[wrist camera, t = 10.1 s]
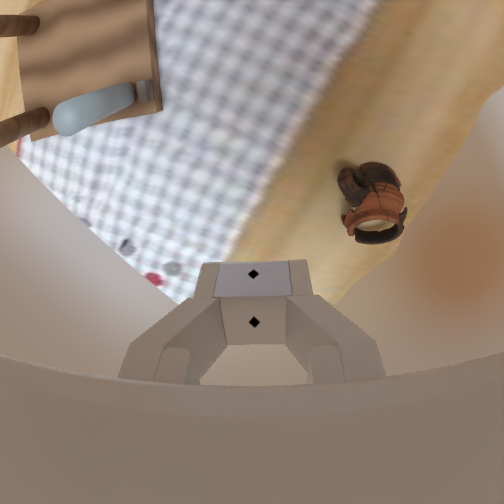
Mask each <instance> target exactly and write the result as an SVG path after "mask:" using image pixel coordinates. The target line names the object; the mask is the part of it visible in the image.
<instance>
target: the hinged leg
mask: <svg viewBox="0 0 504 504" xmlns="http://www.w3.org/2000/svg"><path fill="white" fill-rule="evenodd" d="M135 96H136V94H135V89H134V88H133V86H132V85H131V84H129V83H119V84H116V85H112V86H109V87H105V88H102V89H99V90H96V91H92V92H89V93H86V94H83V95H80V96H77V97H75V98H72V99H69V100H66V101H63V102H61V103H59V104H58V105H57V106H56V108H55V109H54V112H53V116H52V121H53V125H54V128H55V129H56V131H57V132H58V133H59V134H61V135H63V136H72V135H74V134H75V133H77V132H79V131H81V130H83V129H84V128H86V127H88V126H90V125H92V124H94V123H96V122H98V121H100V120H101V119H103V118H105V117H107V116H109V115H111V114H113V113H116V112H118V111H120V110H122V109H124V108H126V107H128V106H130V105H131V104H132V103H133V102H134V100H135Z"/></svg>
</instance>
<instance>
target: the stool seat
mask: <svg viewBox="0 0 504 504" xmlns="http://www.w3.org/2000/svg"><path fill="white" fill-rule="evenodd" d="M14 36H17V43H18V57H19V68H20V77H21V85H22V93H23V99H24V106H25V113H22V114H19V115H16V116H14V117H11V118H9V119H6V120H4V121H1V122H0V148H1V147H3V146H5V145H7V144H9V143H11V142H13V141H15V140H17V139H19V138H21V137H24V136H26V135H28V134H30V138H31V142H32V141H36V140H39V139H42V138H46V137H49V136H53V135H56V134H59V133H58V132H57V131H56V129H55V128H54V125H53V121H52V116H53V112H54V109H55V108H56V106H57V105H58V104H59V103H61V102H63V101H66V100H69V99H72V98H75V97H77V96H80V95H83V94H86V93H89V92H92V91H96V90H99V89H102V88H105V87H109V86H112V85H116V84H119V83H129V84H131V85H132V86H133V88H134V89H135V94H136V96H135V100H134V102H133V103H132V104H131V105H130V106H128V107H126V108H124V109H122V110H120V111H118V112H116V113H113V114H111V115H109V116H107V117H105V118H103V119H101V120H100V121H98V122H96V123H94V124H92V125H95V124H100V123H104V122H109V121H114V120H119V119H124V118H129V117H135V116H140V115H146V114H152V113H157V112H159V111H161V110H163V108H162V99H161V91H160V82H159V72H158V62H157V52H156V40H155V27H154V13H153V0H45V1H43V2H41V3H39V4H37V5H36V6H34V7H32V8H30V9H28V10H26V11H25V12H23V13H21V14H19V15H0V37H14ZM90 126H91V125H90Z"/></svg>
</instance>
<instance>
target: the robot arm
mask: <svg viewBox="0 0 504 504" xmlns="http://www.w3.org/2000/svg"><path fill="white" fill-rule="evenodd" d="M246 344H286V346H287V347H288V349H289V350H290V352H291V353H292V354H293V355H294V357H295V358H296V359H297V360H298V362H299V363H300V364H301V365H302V367H303V368H304V369H305V370H306V372H307V380H306V384H301V385H276V386H215V385H200V382H199V380H200V379H201V378H202V376H203V375H204V374H205V373H206V372H207V370H208V369H209V368H210V367H211V366H212V364H213V363H214V362H215V361H216V359H217V358H218V357H219V356H220V354H221V353H222V352H223V351H224V350H225V348H226V347H227V345H246ZM0 504H504V352H501V353H498V354H494V355H490V356H487V357H482V358H478V359H474V360H470V361H466V362H462V363H457V364H453V365H448V366H443V367H439V368H433V369H428V370H423V371H417V372H411V373H405V374H399V375H392V376H386V373H385V370H384V366H383V363H382V360H381V356H380V353H379V350H378V347H377V343H376V341H375V340H374V339H373V338H372V337H370V336H369V335H368V334H367V333H366V332H364V331H363V330H362V329H360V328H359V327H358V326H357V325H356V324H354V323H353V322H352V321H350V320H349V319H348V318H347V317H346V316H344V315H343V314H342V313H341V312H339V311H338V310H337V309H336V308H334V307H333V306H332V305H331V304H329V303H328V302H327V301H326V300H324V299H323V298H322V297H321V296H319V295H313V291H312V285H311V280H310V275H309V270H308V265H307V261H306V260H305V259H300V260H289V261H271V262H221V263H220V262H207V263H203V264H202V266H201V270H200V273H199V277H198V281H197V284H196V288H195V292H194V295H193V298H187V299H186V300H185V301H183V302H182V303H181V304H180V305H178V306H177V307H176V308H175V309H173V310H172V311H171V312H169V313H168V314H167V315H166V316H165V317H163V318H162V319H161V320H159V321H158V322H157V323H155V324H154V325H153V326H152V327H151V328H149V329H148V330H147V331H145V332H144V333H143V334H142V335H140V336H139V337H138V338H136V339H135V340H134V341H133V342H131V343H130V344H129V347H128V350H127V352H126V355H125V357H124V360H123V363H122V366H121V368H120V371H119V374H118V377H117V378H115V377H107V376H99V375H94V374H87V373H81V372H75V371H70V370H64V369H59V368H54V367H49V366H44V365H40V364H35V363H31V362H27V361H22V360H18V359H14V358H10V357H7V356H3V355H0Z"/></svg>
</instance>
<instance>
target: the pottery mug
mask: <svg viewBox="0 0 504 504" xmlns="http://www.w3.org/2000/svg"><path fill="white" fill-rule="evenodd" d="M338 185H339V187H340V190H341V191H342V193H343V194H344V196H345V197H346V201H347V202H348V203H349V205H350V206H352V207H356V206H357V208H356V210H355V211H354V210H352V209H350V210H349V211H348V213H347V215H346V216H341V217H342V218H341V220H342V221H343V224H344V226H345V227H346V228H347V232H348V235H349V236H354V234H355V240H356V242H359V243H362V244H381V243H386V242H389V241H392V240H394V239H396V238H397V237H398V236H400V235H401V233H402V232H403V230H404V226H403V222H404V220H405V218H406V215H407V207H405V208H404V211H403V212H402V213H400V211H401V209H402V207H403V204H404V198H403V195H402V194H401V193H400V188H399V187H400V186H401V184H400V181H399V179H398V178H397V177H396V174H395V173H394V171H393V170H392V169H390V168H389V167H388V166H386V165H383V164H379V163H366V164H362V165H361V171H357V170H354V169H353V168H344V169H343V170H342V171H341V172H340V173H339V175H338ZM370 185H372V187H373V188H374V190H375V191H369V189H368V187H369V186H370ZM380 219H381V220H388V221H391V222H393V223H395V225H394V226H393V227H391V228H389V229H385V230H382V231H380V232H378V231H362V230H360V229H357V228H356V227H357V226H358V225H359V224H361V223H363V222H366V221H370V220H380Z"/></svg>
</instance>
